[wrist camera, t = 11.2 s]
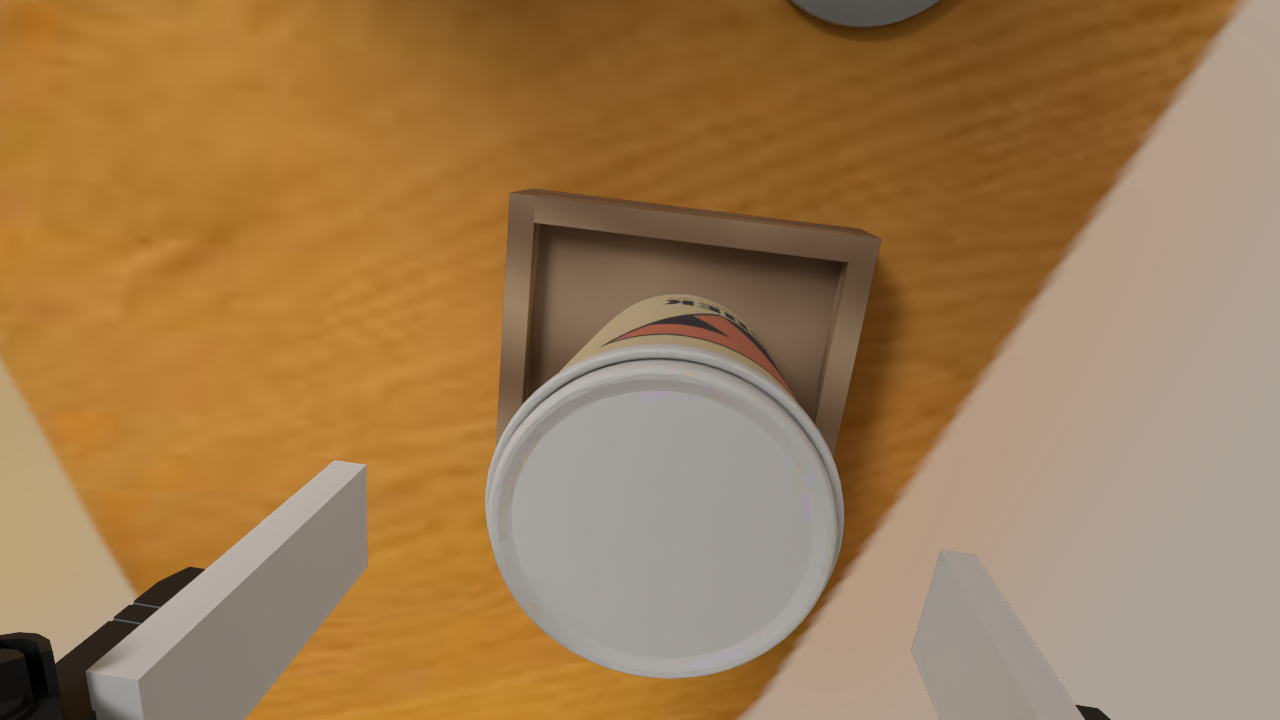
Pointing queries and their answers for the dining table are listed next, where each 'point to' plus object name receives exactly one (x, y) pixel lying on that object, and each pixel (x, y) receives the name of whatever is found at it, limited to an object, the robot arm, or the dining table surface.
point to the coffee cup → (666, 496)
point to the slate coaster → (862, 11)
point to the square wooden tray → (681, 287)
